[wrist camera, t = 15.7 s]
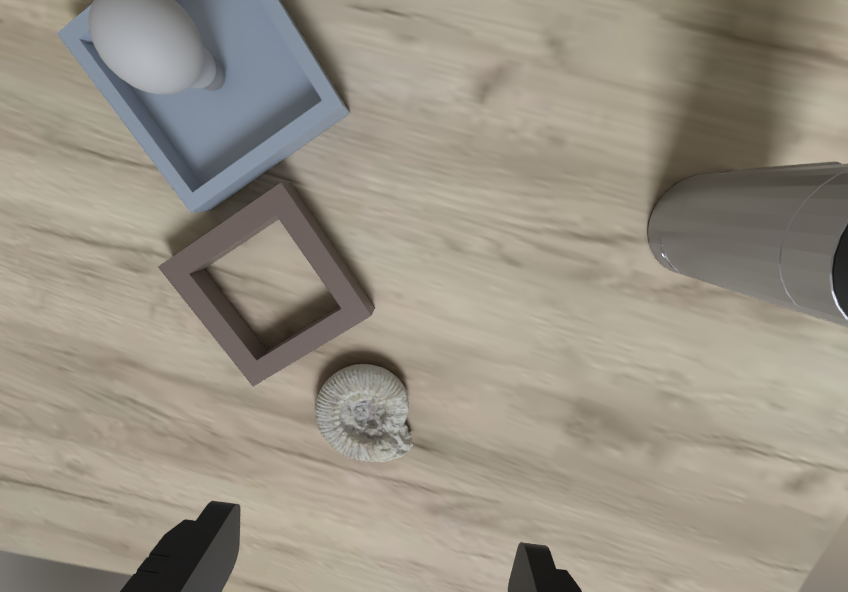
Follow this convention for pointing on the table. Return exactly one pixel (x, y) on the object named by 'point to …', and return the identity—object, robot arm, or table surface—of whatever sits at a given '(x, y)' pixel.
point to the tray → (224, 100)
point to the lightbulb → (153, 46)
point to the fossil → (364, 413)
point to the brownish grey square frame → (224, 318)
